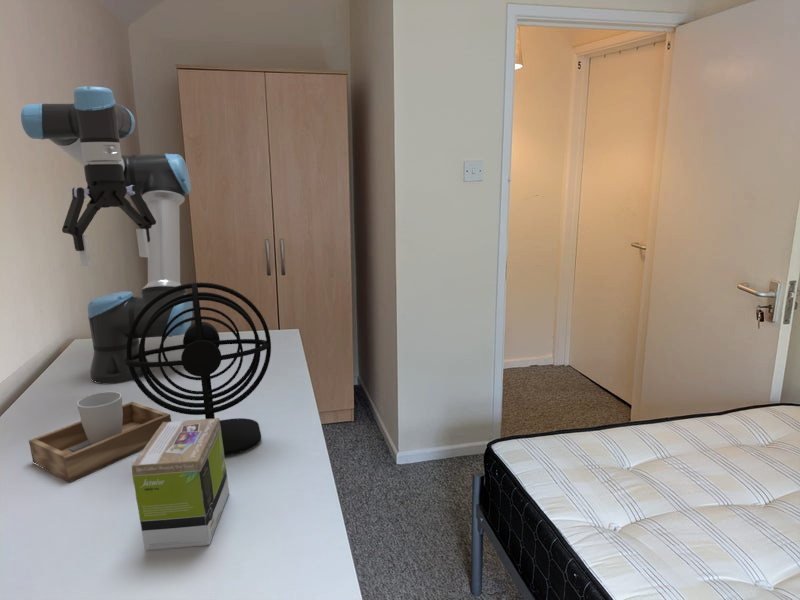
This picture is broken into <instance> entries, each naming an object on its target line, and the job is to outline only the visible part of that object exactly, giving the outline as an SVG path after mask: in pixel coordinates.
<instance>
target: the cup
mask: <svg viewBox="0 0 800 600" xmlns="http://www.w3.org/2000/svg"><path fill="white" fill-rule="evenodd" d="M76 405H77V409H78V415H79V417H80V421H81V423H82V425H83V428H84V431H85V433H86V436H87V438H88V440H89V442H90V443H91V445H93V444H95V443H97V442H100V441H102V440H105V439H107V438H110V437H112V436H114V435H117V434H119V433H122V422H123V410H122V405H123V398H122V394H121V393H120V392H117V391H102V392H97V393H92V394H90V395H86V396H84V397H82V398H80V399H79V400H77V402H76Z"/></svg>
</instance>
